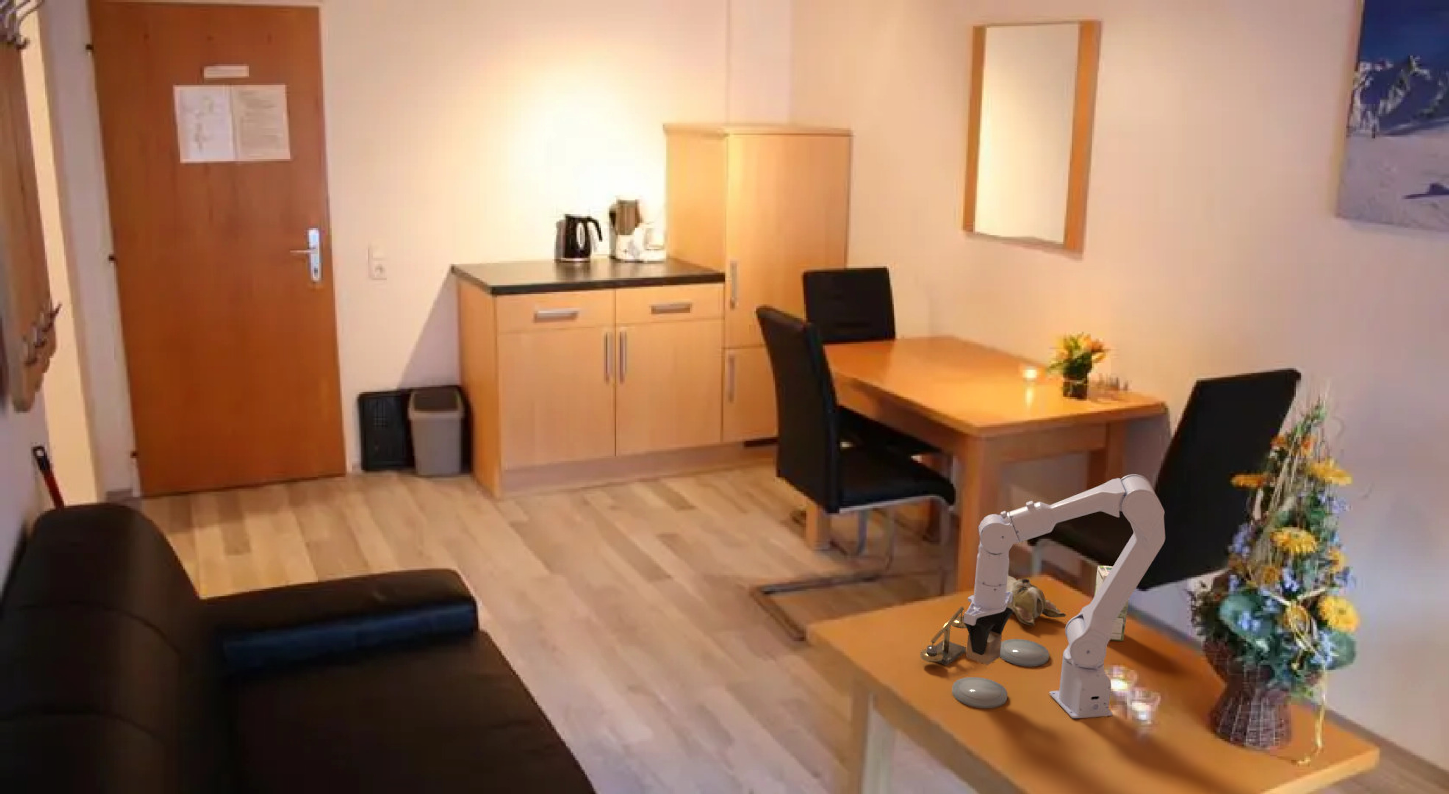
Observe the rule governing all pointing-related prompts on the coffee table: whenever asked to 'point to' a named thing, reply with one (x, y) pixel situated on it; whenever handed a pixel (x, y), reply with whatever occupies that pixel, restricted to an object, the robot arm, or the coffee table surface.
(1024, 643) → the right dish
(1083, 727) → the coffee table surface
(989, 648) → the walnut block
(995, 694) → the left dish
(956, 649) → the bronze balance
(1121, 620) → the syrup box
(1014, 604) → the ceramic sculpture
